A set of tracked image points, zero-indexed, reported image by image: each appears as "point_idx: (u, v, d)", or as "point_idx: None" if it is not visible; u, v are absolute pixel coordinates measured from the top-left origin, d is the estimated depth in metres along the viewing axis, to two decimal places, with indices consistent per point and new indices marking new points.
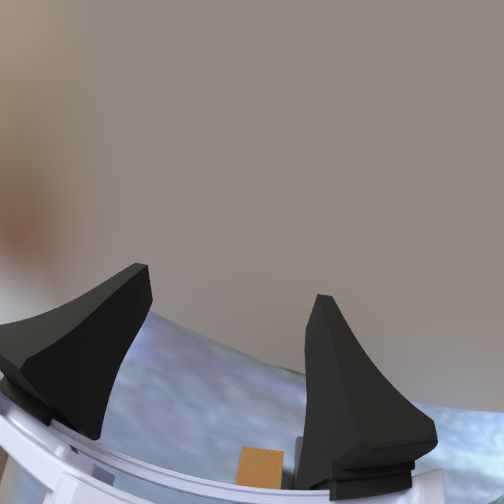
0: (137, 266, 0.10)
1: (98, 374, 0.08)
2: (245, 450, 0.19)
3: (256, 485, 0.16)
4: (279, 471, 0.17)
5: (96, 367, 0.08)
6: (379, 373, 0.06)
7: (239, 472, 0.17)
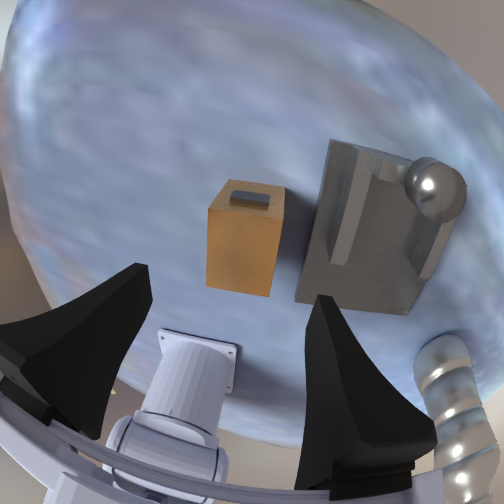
0: (137, 266, 0.10)
1: (98, 374, 0.08)
2: (213, 216, 0.13)
3: (234, 276, 0.15)
4: (272, 257, 0.14)
5: (96, 367, 0.08)
6: (379, 373, 0.06)
7: (208, 255, 0.14)
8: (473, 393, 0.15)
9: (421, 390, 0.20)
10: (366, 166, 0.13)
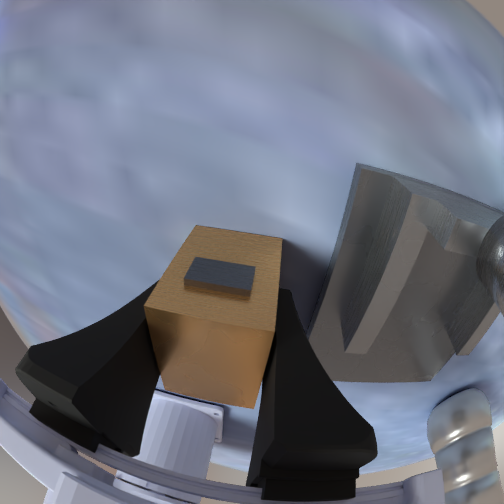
0: None
1: (141, 390, 0.08)
2: (153, 318, 0.07)
3: (202, 387, 0.09)
4: (256, 374, 0.08)
5: (139, 383, 0.07)
6: (321, 370, 0.07)
7: (159, 361, 0.08)
8: (490, 457, 0.09)
9: (434, 451, 0.14)
10: (420, 220, 0.07)
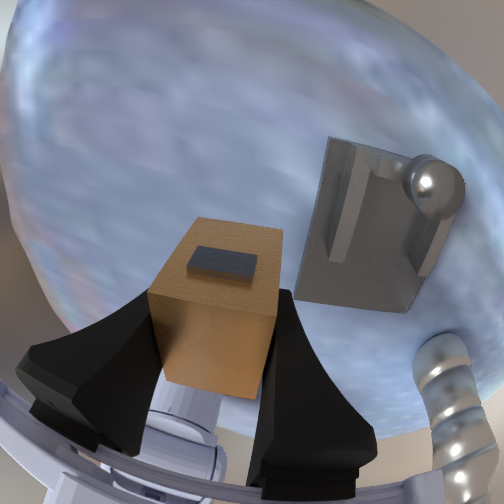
0: None
1: (141, 390, 0.08)
2: (156, 304, 0.07)
3: (203, 377, 0.09)
4: (257, 362, 0.08)
5: (139, 383, 0.07)
6: (321, 370, 0.07)
7: (161, 350, 0.09)
8: (472, 392, 0.15)
9: (420, 389, 0.20)
10: (364, 163, 0.13)
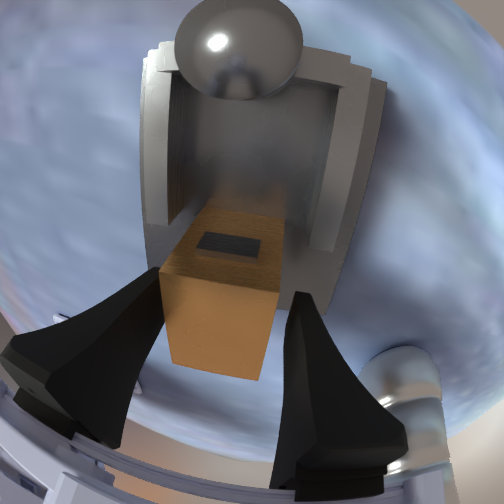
0: (157, 270, 0.10)
1: (120, 383, 0.08)
2: (167, 283, 0.08)
3: (209, 357, 0.10)
4: (261, 340, 0.09)
5: (118, 376, 0.07)
6: (350, 372, 0.06)
7: (168, 330, 0.09)
8: (435, 441, 0.09)
9: None
10: None
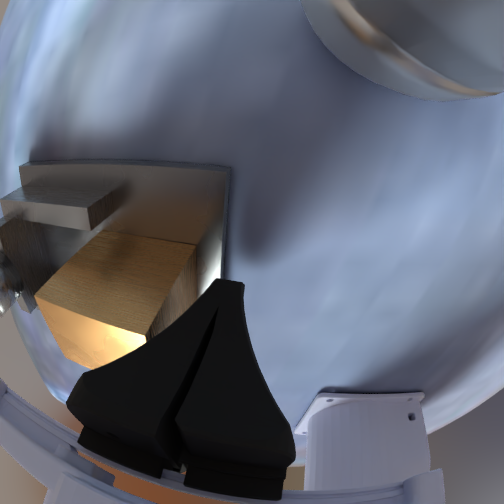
0: (222, 283, 0.10)
1: None
2: (69, 357, 0.09)
3: None
4: (75, 317, 0.07)
5: None
6: (252, 361, 0.07)
7: None
8: None
9: (485, 94, 0.04)
10: None
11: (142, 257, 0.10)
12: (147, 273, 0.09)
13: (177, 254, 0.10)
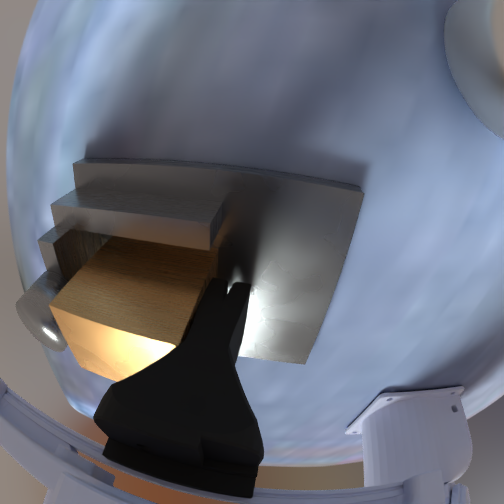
0: (242, 286, 0.10)
1: None
2: (85, 367, 0.09)
3: None
4: (98, 328, 0.07)
5: None
6: (226, 357, 0.07)
7: None
8: None
9: None
10: None
11: (163, 261, 0.10)
12: (171, 278, 0.09)
13: (200, 258, 0.10)
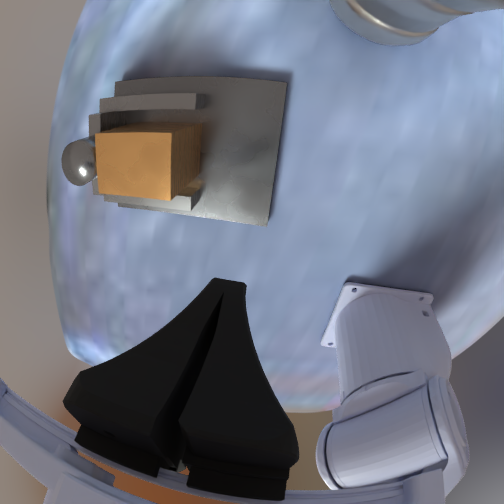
0: (220, 282, 0.10)
1: None
2: (103, 189, 0.14)
3: (152, 170, 0.13)
4: (125, 136, 0.12)
5: None
6: (254, 362, 0.07)
7: (136, 195, 0.14)
8: None
9: (417, 34, 0.08)
10: None
11: (168, 124, 0.15)
12: (172, 126, 0.14)
13: (190, 124, 0.15)
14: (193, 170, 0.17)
